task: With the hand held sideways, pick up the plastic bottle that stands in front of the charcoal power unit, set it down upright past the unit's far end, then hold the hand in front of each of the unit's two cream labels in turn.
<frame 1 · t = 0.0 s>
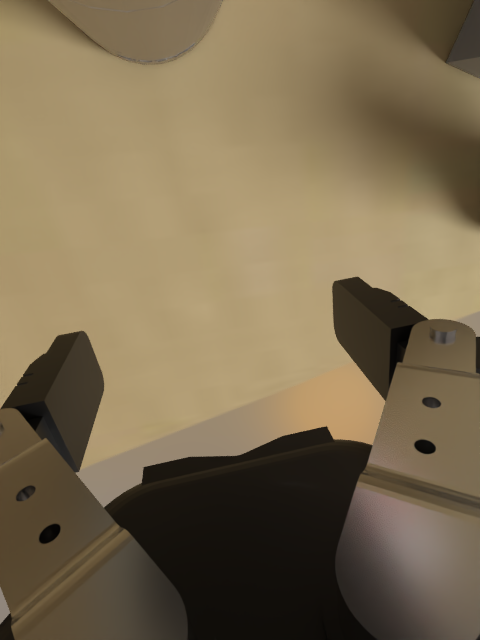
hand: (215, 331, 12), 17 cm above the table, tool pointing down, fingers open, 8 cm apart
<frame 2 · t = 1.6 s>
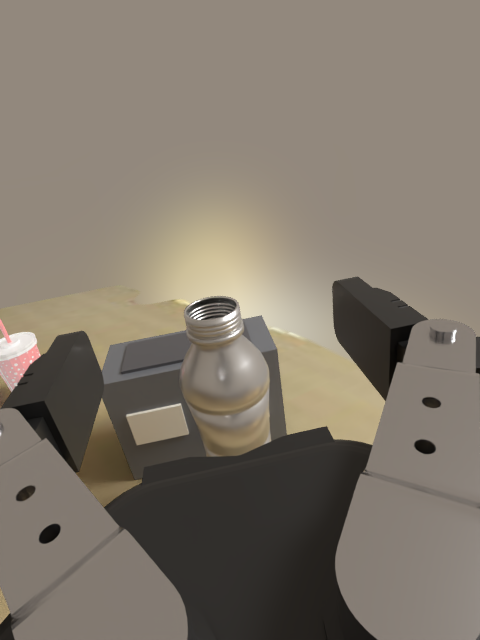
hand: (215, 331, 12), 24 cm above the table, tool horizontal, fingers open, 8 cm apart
power unit: (209, 438, 41), on the table
beverage cup: (37, 397, 53), on the table
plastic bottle: (251, 509, 33), on the table
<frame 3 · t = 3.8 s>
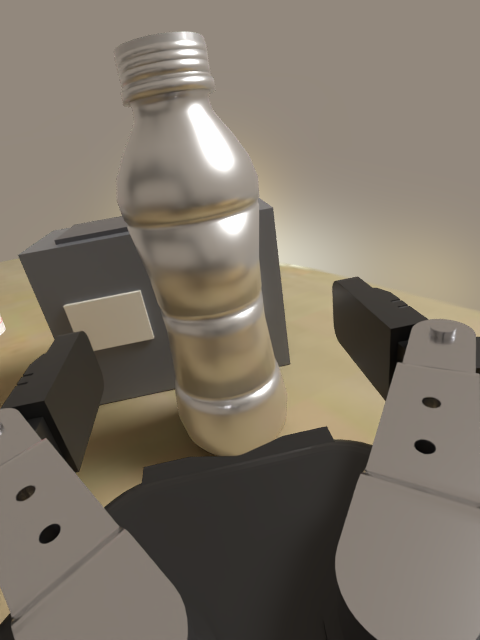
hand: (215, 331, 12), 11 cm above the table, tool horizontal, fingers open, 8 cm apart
power unit: (188, 361, 32), on the table
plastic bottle: (238, 433, 23), on the table
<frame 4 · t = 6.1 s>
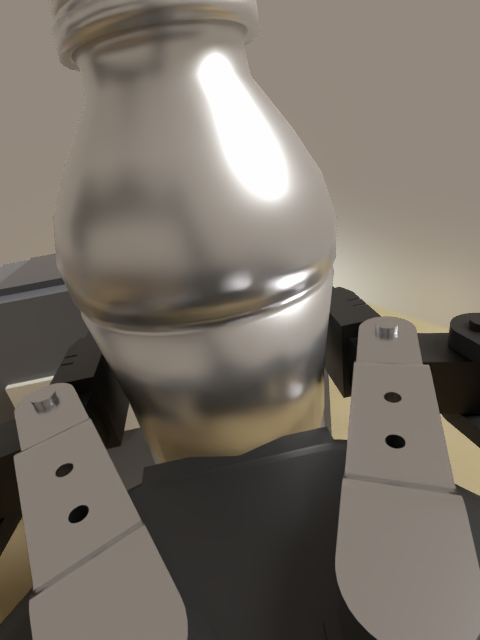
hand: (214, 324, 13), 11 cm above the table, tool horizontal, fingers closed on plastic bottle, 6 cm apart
power unit: (190, 436, 24), on the table
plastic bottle: (268, 587, 15), on the table, touching gripper
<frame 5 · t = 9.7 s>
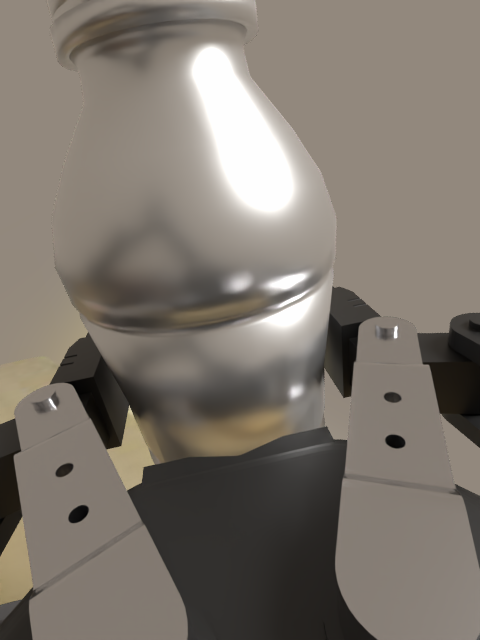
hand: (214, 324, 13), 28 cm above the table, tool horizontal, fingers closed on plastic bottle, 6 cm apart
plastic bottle: (269, 588, 15), point 17 cm above the table, touching gripper
when the fingers open (12 cm above the table, at t = 13.5 s): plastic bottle drops 1 cm, on the table.
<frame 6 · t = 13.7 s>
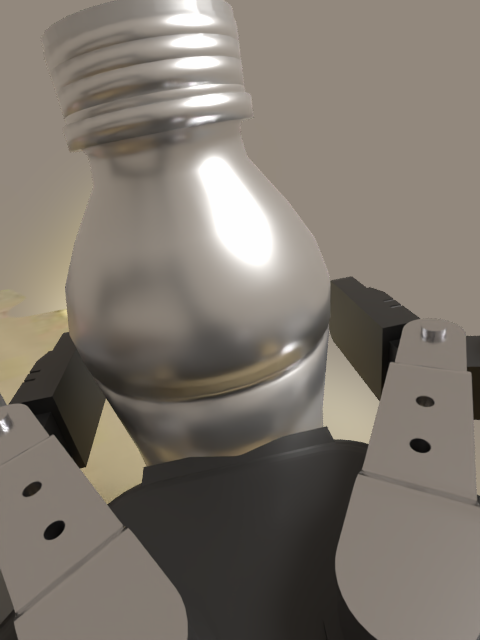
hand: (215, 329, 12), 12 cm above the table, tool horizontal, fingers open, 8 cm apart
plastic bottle: (275, 609, 16), on the table
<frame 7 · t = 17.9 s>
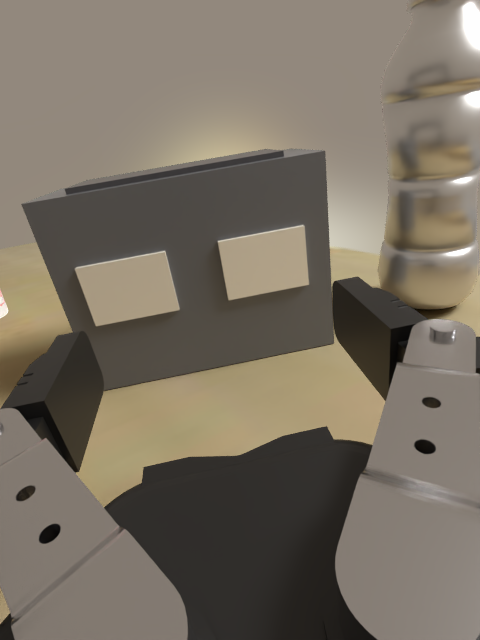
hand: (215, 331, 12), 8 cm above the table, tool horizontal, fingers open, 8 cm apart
power unit: (213, 341, 28), on the table
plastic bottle: (422, 303, 29), on the table
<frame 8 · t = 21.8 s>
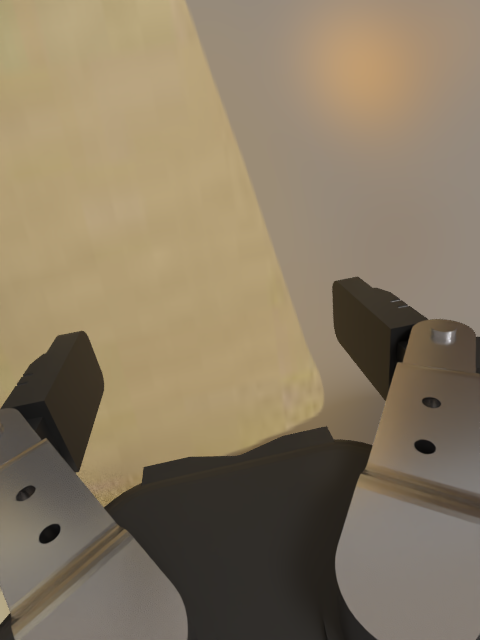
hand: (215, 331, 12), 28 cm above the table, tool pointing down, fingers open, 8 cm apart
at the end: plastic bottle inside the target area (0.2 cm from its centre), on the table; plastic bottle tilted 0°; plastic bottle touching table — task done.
